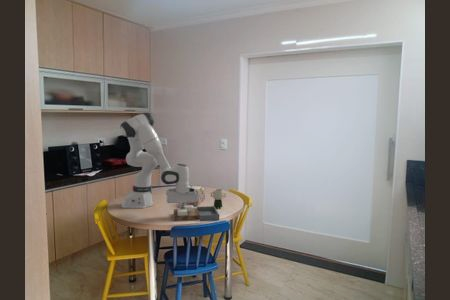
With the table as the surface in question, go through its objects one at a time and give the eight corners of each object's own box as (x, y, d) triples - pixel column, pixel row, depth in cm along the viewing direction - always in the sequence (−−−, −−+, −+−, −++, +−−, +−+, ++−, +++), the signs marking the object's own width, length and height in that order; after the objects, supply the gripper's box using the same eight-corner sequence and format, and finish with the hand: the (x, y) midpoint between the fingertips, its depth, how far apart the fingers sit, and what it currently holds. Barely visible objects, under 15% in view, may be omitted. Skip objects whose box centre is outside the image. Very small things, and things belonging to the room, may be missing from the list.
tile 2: (177, 215, 195) (177, 211, 194) (177, 212, 200) (177, 208, 200) (187, 215, 196) (187, 211, 195) (186, 212, 202) (186, 208, 201)
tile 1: (184, 211, 202) (184, 208, 202) (184, 209, 208) (184, 205, 208) (194, 211, 204) (194, 207, 203) (193, 208, 209) (193, 205, 209)
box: (200, 220, 195) (200, 215, 194) (197, 211, 213) (197, 206, 213) (219, 219, 197) (219, 214, 197) (214, 210, 216) (214, 206, 215)
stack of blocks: (197, 198, 248) (197, 183, 246) (204, 199, 246) (205, 184, 245) (189, 206, 227) (189, 189, 225) (197, 206, 226) (197, 190, 224)
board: (174, 220, 193) (174, 216, 193) (173, 213, 208) (173, 209, 208) (200, 219, 197) (200, 215, 196) (197, 212, 211) (197, 208, 211)
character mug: (225, 206, 227) (225, 188, 226) (225, 209, 220) (226, 191, 219) (210, 206, 227) (210, 188, 226) (210, 209, 220) (210, 191, 219)
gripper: (166, 190, 198) (166, 211, 199) (198, 189, 202) (197, 209, 203) (166, 187, 204) (166, 208, 206) (197, 187, 208) (196, 207, 210)
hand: (182, 209), depth 205 cm, fingers closed
